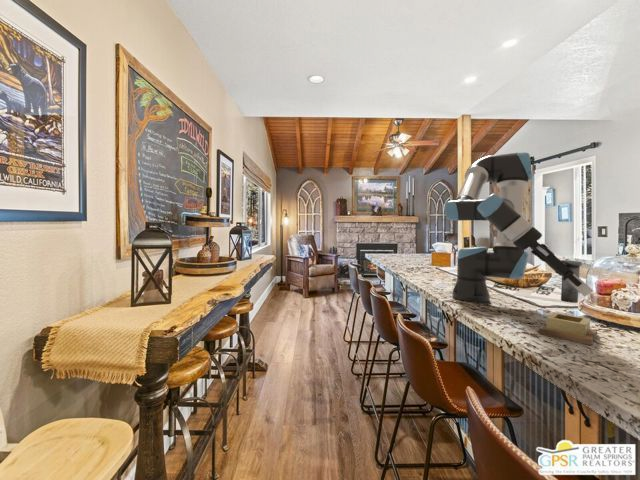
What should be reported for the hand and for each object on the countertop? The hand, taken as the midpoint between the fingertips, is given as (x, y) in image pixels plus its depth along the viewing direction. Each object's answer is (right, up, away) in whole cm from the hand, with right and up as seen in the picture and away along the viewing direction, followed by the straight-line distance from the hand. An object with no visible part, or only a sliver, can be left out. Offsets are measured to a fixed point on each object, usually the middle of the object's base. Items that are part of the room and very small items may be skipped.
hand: (586, 291), depth 91 cm
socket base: (-3, -13, +3) cm, 14 cm away
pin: (-3, -3, +2) cm, 5 cm away
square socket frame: (-3, -12, +2) cm, 13 cm away
